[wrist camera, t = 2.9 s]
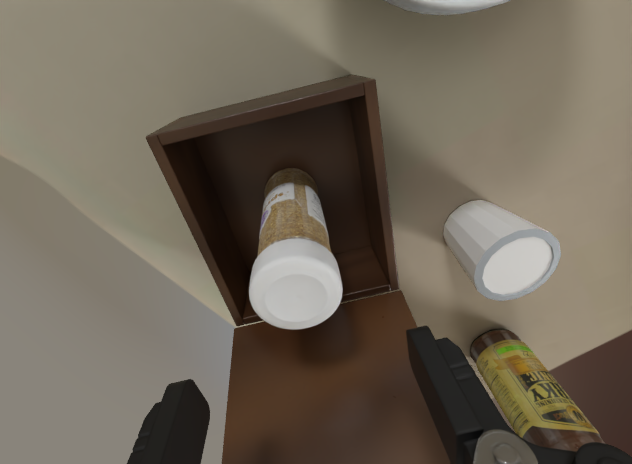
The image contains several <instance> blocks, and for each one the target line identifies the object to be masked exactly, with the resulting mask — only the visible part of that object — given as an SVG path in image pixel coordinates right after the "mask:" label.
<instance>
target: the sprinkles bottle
mask: <svg viewBox="0 0 632 464" xmlns="http://www.w3.org/2000/svg"><path fill="white" fill-rule="evenodd" d="M264 197H265V201H264V205H263V212H262V219H261V227H260V235H259V239H260V241H259V247H258V256H257V258H256V260H255V262H254V264H253V267H252V272H251V277H250V285H249V299H250V303H251V305H252V307H253V309H254V311H255V312H256V313H257V315H258V316H259V317H260V318H261V319H263V320H264V321H266V322H267V323H269V324H271V325H273V326H276V327H279V328H283V329H295V330H296V329H305V328H309V327H312V326H316V325H318V324H320V323H322V322H323V321H325V320H326V319H328V318H329V317H330V316H331V315H332V314H333V313H334V312H335V311H336V309H337V308H338V306H339V304H340V301H341V298H342V292H343V288H342V281H341V276H340V272H339V267H338V264H337V261H336V259H335V257H334V256H333V254H332V252H331V249H330V245H329V236H328V232H327V228H326V224H325V220H324V216H323V211H322V207H321V203H320V200H319V198H318V189H317V185H316V183H315V181H314V180H313V178H312V177H311V176H310V175H308V174H307V173H306V172H304V171H302V170H300V169H297V168H287V169H284V170H281V171H278V172H277V173H275V174H274V175H273V176H272V177H271V178H270V179H269V180H268V182H267V183H266V186H265V190H264Z"/></svg>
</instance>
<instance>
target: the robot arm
mask: <svg viewBox="0 0 632 464" xmlns="http://www.w3.org/2000/svg"><path fill="white" fill-rule="evenodd" d="M406 336H407V344H408V353H409V360H410V364H411V367H412V371H413V373H414V376H415V378H416V381H417V383H418V386H419V388H420V390H421V393H422V395H423V398H424V400H425V402H426V405H427V407H428V410H429V412H430V414H431V417H432V419H433V422H434V424H435V426H436V429H437V431H438V434H439V436H440V438H441V441H442V443H443V446H444V448H445V450H446V453H447V455H448V458H449V460H450V462H451V464H632V457H631V456H629V455H628V454H627V453H625V452H623V451H622V450H620V449H618V448H616V447H614V446H611V445H608V444H604V443H599V442H590V443H586V444H584V445H582V446H581V447H580V448H579V449H578V451H577V452H576V451H569V450H562V449H554V448H547V447H542V446H538V445H535V444H533V443H530V442H528V441H526V440H525V439H523V438H521V437H520V436H519V435H517V434H516V433H515V432H514V431H513V430H511V428H510V427H509V426H508V425H507V423H506V422H505V421H504V419H503V418H502V416H501V414H500V413H499V411H498V409H497V408H496V406H495V404H494V403H493V401H492V400H491V398H490V396H489V395H488V393H487V391H486V390H485V388H484V387H483V385H482V383H481V382H480V380H479V378H478V377H477V376H476V374H475V372H474V370H473V369H472V367H471V365H469V363H468V361H467V359H466V357H465V356H464V354H463V352H462V351H461V349H460V348H459V347H458V346H457V345H455V344H454V343H453V342H452V341H450V340H449V339H448V338H442V339H438V340H435V338H434V336H433V334H432V333H431V331H430V329H429V328H428V326H422V327H418V328H413V329H409V330H406ZM209 420H210V410H209V405H208V402H207V401H206V399H205V398H204V396H203V395H202V393H201V392H200V390H199V389H198V387H197V386H196V384H195V382H194V381H193V380H191V379H189V380H184V381H180V382H176V383H171V384H169V385H168V386H167V388H166V390H165V393H164V396H163V399H162V401H161V402H159V403H156V404H155V405H154V406H153V408H152V409H151V411H150V412H149V413H148V415H147V416H146V418H145V420H144V422H143V424H142V427H141V430H140V432H139V434H138V439H137V440H136V442H135V445H134V447H133V453H131V455H130V458H129V460H128V463H127V464H200V463H201V459H202V454H203V449H204V444H205V439H206V435H207V430H208V425H209Z"/></svg>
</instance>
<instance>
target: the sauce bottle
mask: <svg viewBox="0 0 632 464" xmlns="http://www.w3.org/2000/svg"><path fill="white" fill-rule="evenodd" d="M470 354H471V357H472V359H473V360H474V362H475V363H476V364H477V368H478V370H479V372H480V374H481V375H482V377H483V379H484V380H485V382H486V384H487V385H488V387H489V389H490V390H491V392H492V394H493V395H494V397H495V399H496V400H497V402H498V404H499V405H500V407H501V409H502V411H503V412H504V414H505V416H506V417H507V419H508V420H509V422H510V424H511V426H512V427H513V429H514V430H515V432H516V434H517V435H519V436H520V437H521V438H523V439H525V440H526V441H528V442H530V443H533V444H535V445H538V446H542V447H547V448H554V449H562V450H569V451H576V452H577V451H578V449H579V448H580V447H581V446H582V445H584V444H586V443H590V442H599V443H604V442H603V440H602V439H601V438H600V435H599V433H598V432H597V430H596V429H595V428H594V427H593V425H592V424H591V423H590V422H589V421H588V419H587V418H586V417H585V415H584V414H583V413H582V412H581V411H580V409H579V408H578V407H577V406H576V405H575V403H574V402H573V401H572V399H571V398H570V397H569V396H568V395H567V393H565V391H564V390H563V388H562V387H561V386H560V385H559V384H558V382H557V381H556V380H555V379H554V377H553V376H552V375H551V374H550V373H549V372H548V371H547V369H546V368H545V367H544V366H543V364H542V363H541V362H540V361H539V359H538V358H537V357H536V356H535V354H534V353H533V352H532V351H531V350H530V348H529V347H528V346H527V345H526V344H525V343H524V342H522V341H521V340H520V339H519V337H518V336H517V335H515V334H514V333H512V332H511V331H509V330H493V331H489V332H487V333H485V334H483V335H482V336H480V337H479V338H477V339H476V340H475V341H474V342H473V344H472V347H471V352H470ZM604 444H605V443H604Z"/></svg>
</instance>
